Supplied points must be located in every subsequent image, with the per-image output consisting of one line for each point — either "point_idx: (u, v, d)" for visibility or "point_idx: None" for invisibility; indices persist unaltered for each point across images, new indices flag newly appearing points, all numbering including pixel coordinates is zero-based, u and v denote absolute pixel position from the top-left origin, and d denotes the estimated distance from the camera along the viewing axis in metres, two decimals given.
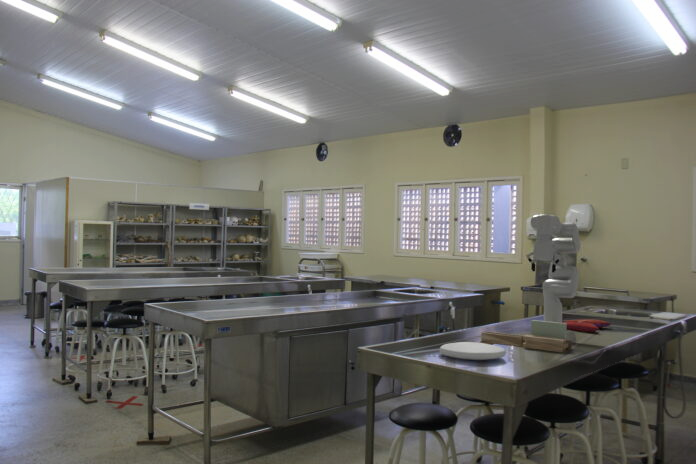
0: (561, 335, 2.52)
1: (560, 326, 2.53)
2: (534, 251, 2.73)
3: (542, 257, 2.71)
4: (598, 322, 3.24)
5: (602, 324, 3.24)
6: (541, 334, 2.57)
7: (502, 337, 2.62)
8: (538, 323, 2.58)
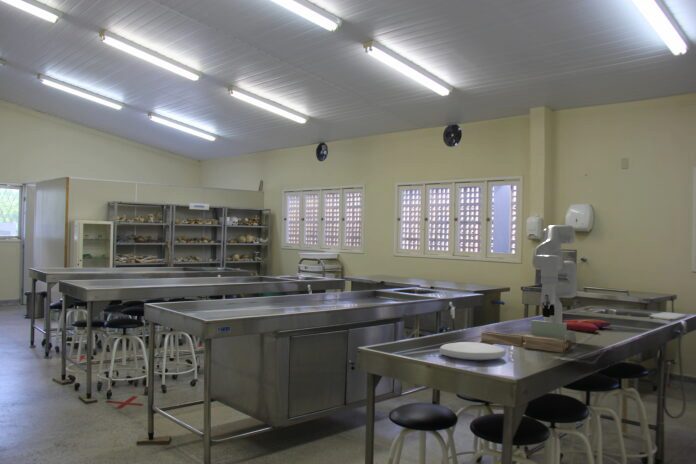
0: (561, 335, 2.52)
1: (560, 326, 2.53)
2: (551, 295, 2.52)
3: (553, 301, 2.55)
4: (598, 322, 3.24)
5: (602, 324, 3.24)
6: (541, 334, 2.57)
7: (502, 337, 2.62)
8: (538, 323, 2.58)
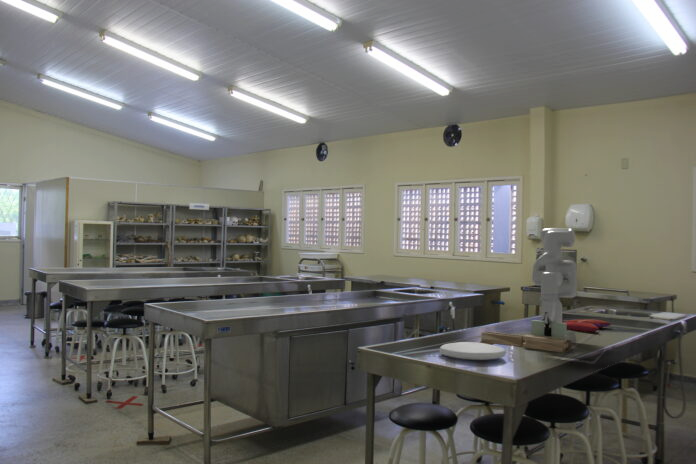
0: (561, 335, 2.52)
1: (560, 326, 2.53)
2: (551, 312, 2.52)
3: (552, 318, 2.55)
4: (598, 322, 3.24)
5: (602, 324, 3.24)
6: (541, 334, 2.57)
7: (502, 337, 2.62)
8: (538, 323, 2.58)
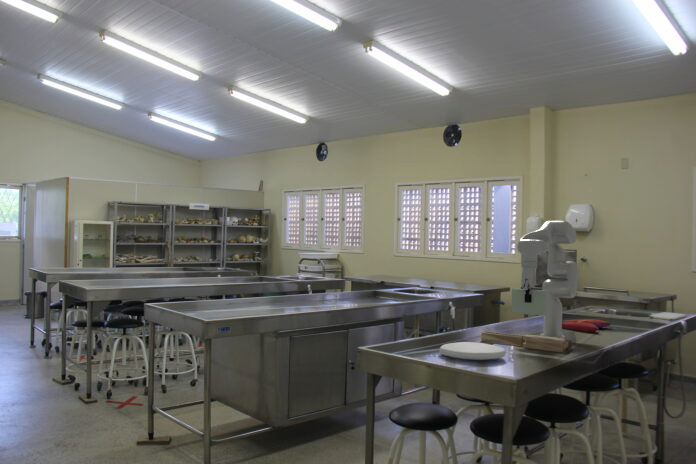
0: (541, 302, 2.57)
1: (540, 293, 2.57)
2: (531, 279, 2.56)
3: (532, 285, 2.60)
4: (598, 322, 3.24)
5: (602, 324, 3.24)
6: (522, 302, 2.61)
7: (502, 337, 2.62)
8: (519, 291, 2.62)
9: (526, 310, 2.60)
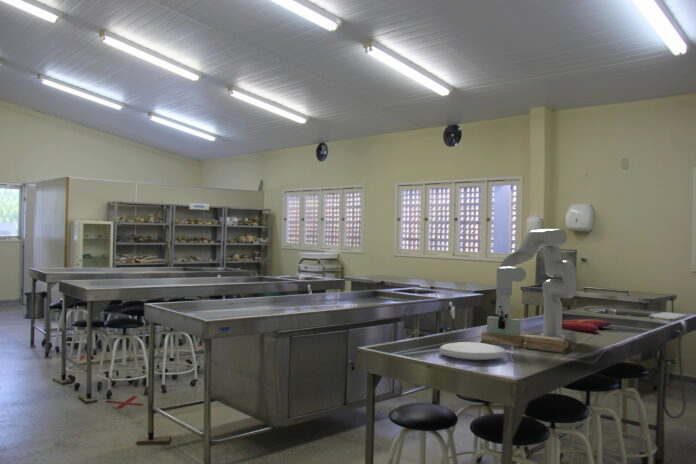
0: (515, 331, 2.61)
1: (514, 322, 2.62)
2: (505, 306, 2.61)
3: (507, 312, 2.64)
4: (598, 322, 3.24)
5: (602, 324, 3.24)
6: (496, 330, 2.66)
7: (502, 337, 2.62)
8: (494, 319, 2.67)
9: None
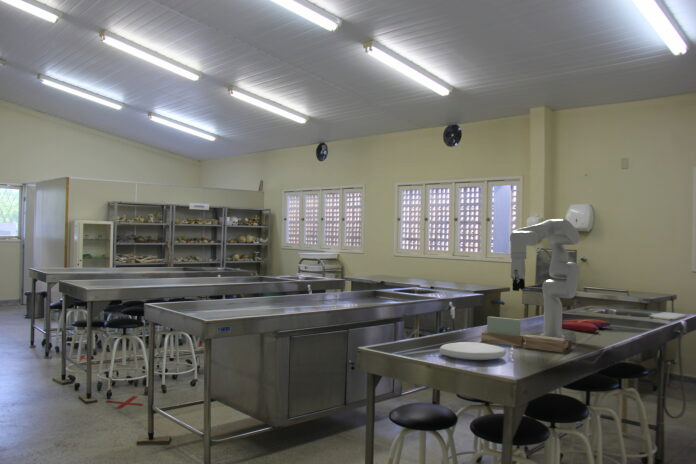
0: (515, 331, 2.61)
1: (514, 322, 2.62)
2: (520, 270, 2.64)
3: (522, 275, 2.67)
4: (598, 322, 3.24)
5: (602, 324, 3.24)
6: (496, 330, 2.66)
7: (502, 337, 2.62)
8: (494, 319, 2.67)
9: None
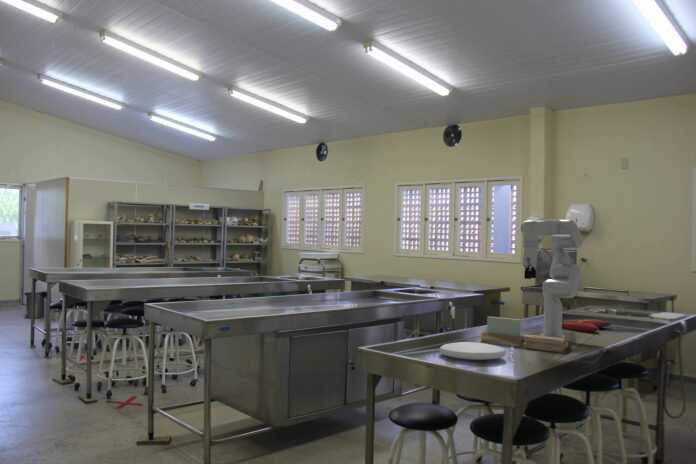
0: (515, 331, 2.61)
1: (514, 322, 2.62)
2: (532, 258, 2.65)
3: (534, 264, 2.68)
4: (598, 322, 3.24)
5: (602, 324, 3.24)
6: (496, 330, 2.66)
7: (502, 337, 2.62)
8: (494, 319, 2.67)
9: None
